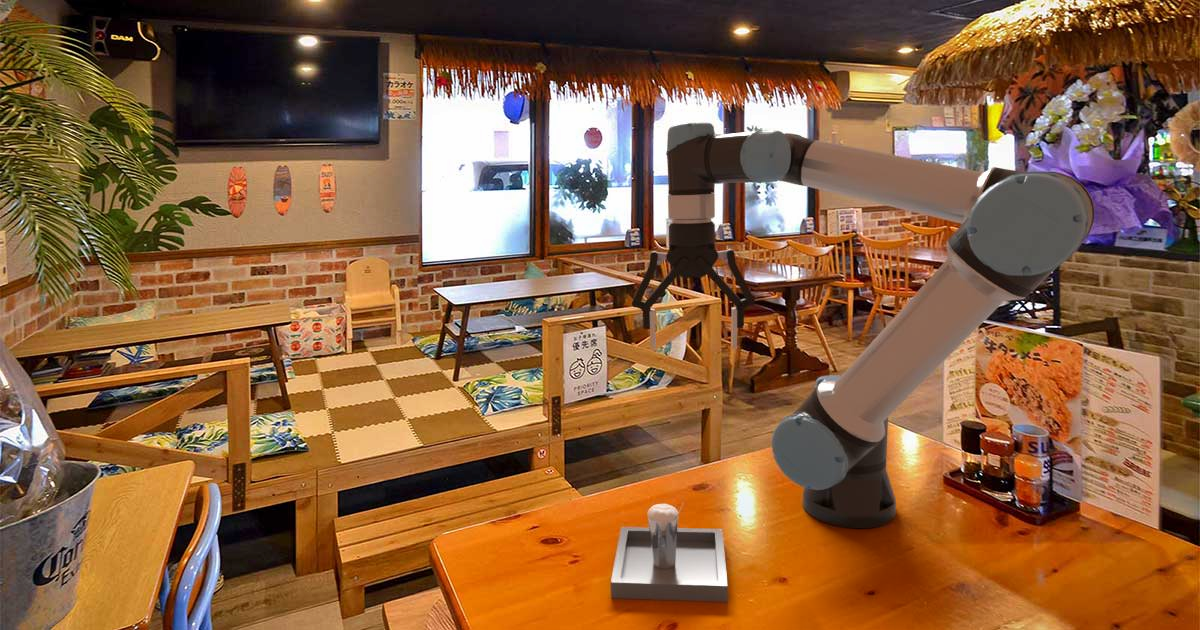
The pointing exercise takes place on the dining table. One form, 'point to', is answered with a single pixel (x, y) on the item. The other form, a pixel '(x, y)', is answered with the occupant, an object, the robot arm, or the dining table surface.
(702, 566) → the slate tray
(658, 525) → the milkshake
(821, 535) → the dining table surface
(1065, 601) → the dining table surface
